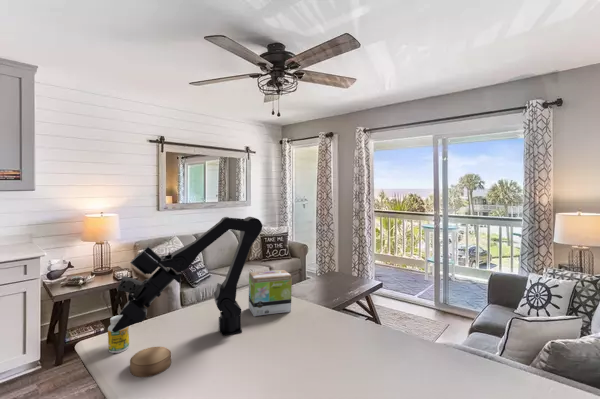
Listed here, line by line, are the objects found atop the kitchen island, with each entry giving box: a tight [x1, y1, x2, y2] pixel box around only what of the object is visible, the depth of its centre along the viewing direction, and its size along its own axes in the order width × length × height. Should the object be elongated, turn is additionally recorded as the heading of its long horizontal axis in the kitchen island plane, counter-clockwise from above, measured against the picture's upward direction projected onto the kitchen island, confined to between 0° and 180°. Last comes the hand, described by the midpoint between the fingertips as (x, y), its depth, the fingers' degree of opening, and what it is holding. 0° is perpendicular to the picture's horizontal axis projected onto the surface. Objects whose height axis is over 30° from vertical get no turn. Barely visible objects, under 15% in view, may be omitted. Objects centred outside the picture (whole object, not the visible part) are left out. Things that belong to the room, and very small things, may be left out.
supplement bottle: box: [107, 314, 130, 354], centre depth 95 cm, size 5×5×10 cm
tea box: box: [248, 269, 293, 317], centre depth 125 cm, size 15×10×15 cm
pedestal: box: [129, 346, 172, 378], centre depth 86 cm, size 10×10×3 cm
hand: (115, 324), depth 94 cm, fingers open, 9 cm apart
